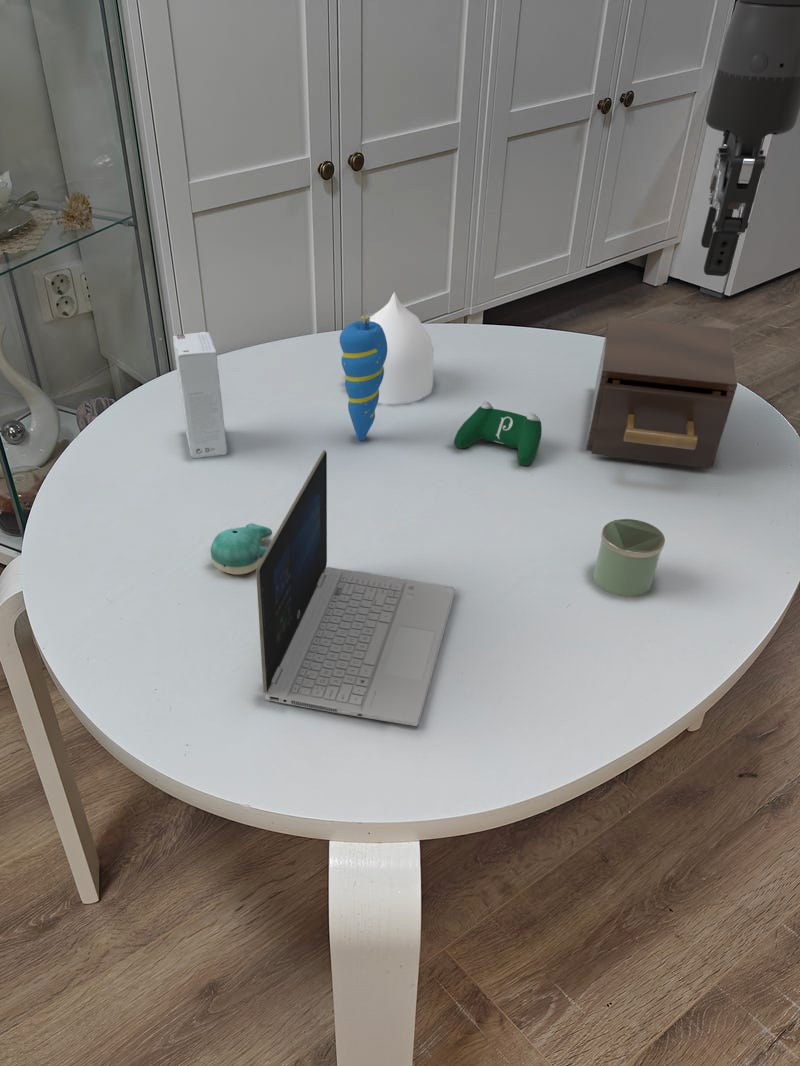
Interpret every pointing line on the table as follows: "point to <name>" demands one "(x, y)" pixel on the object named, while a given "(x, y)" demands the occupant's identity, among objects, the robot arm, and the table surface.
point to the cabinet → (665, 360)
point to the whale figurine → (239, 548)
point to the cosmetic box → (200, 394)
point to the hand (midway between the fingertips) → (713, 260)
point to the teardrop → (404, 355)
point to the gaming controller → (502, 430)
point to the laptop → (343, 623)
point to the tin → (628, 557)
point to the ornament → (363, 370)
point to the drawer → (660, 422)
